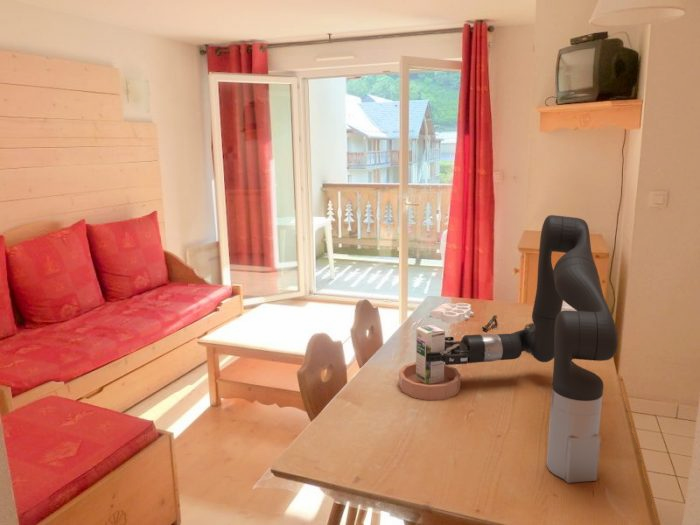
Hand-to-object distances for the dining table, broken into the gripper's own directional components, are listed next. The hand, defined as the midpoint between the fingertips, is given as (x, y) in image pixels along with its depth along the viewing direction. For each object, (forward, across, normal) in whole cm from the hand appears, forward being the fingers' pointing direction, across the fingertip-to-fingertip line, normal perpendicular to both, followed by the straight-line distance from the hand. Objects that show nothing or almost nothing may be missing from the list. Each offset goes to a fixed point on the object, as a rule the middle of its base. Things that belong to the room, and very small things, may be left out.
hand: (422, 351), depth 146 cm
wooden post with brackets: (-34, -42, +11) cm, 56 cm away
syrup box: (-2, 0, +8) cm, 8 cm away
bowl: (-2, 0, +10) cm, 10 cm away
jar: (-43, -21, +11) cm, 49 cm away
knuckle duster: (-26, -59, +11) cm, 65 cm away
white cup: (-59, -35, +11) cm, 69 cm away
